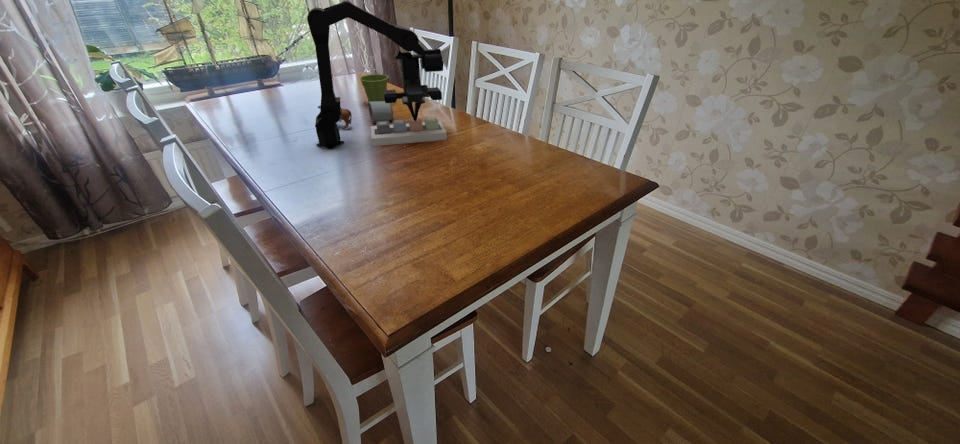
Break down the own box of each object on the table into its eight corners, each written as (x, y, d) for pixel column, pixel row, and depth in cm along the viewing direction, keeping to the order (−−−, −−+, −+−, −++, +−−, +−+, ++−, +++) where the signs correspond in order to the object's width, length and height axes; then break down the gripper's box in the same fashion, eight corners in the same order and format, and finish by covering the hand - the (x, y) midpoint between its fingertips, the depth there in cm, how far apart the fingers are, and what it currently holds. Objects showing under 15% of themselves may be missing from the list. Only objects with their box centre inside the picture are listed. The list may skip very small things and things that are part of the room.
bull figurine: (326, 122, 142) (321, 101, 138) (356, 127, 139) (352, 105, 134) (318, 126, 139) (313, 104, 134) (349, 131, 135) (344, 108, 131)
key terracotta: (410, 131, 129) (409, 123, 127) (409, 127, 132) (408, 119, 131) (422, 130, 130) (422, 122, 128) (421, 126, 133) (420, 118, 132)
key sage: (426, 130, 130) (425, 121, 128) (424, 126, 134) (424, 117, 132) (438, 129, 131) (438, 120, 129) (436, 125, 134) (436, 117, 133)
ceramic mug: (395, 122, 144) (392, 102, 139) (373, 125, 141) (370, 104, 136) (388, 114, 152) (386, 95, 147) (368, 117, 149) (364, 97, 144)
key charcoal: (377, 134, 127) (376, 125, 125) (377, 130, 130) (376, 121, 128) (390, 133, 128) (389, 124, 126) (389, 129, 131) (388, 120, 129)
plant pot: (368, 100, 167) (364, 73, 161) (394, 100, 167) (391, 74, 160) (360, 108, 157) (355, 80, 151) (388, 109, 157) (384, 81, 151)
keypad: (372, 146, 124) (371, 138, 123) (371, 133, 134) (370, 126, 132) (446, 139, 130) (446, 132, 128) (440, 127, 139) (440, 120, 138)
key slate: (394, 133, 128) (393, 124, 126) (393, 128, 131) (392, 120, 129) (406, 132, 129) (405, 123, 127) (405, 127, 132) (404, 119, 130)
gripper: (382, 80, 112) (388, 130, 121) (443, 77, 116) (445, 126, 125) (380, 72, 121) (387, 119, 130) (438, 69, 125) (440, 115, 134)
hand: (415, 120), depth 129 cm, fingers closed
